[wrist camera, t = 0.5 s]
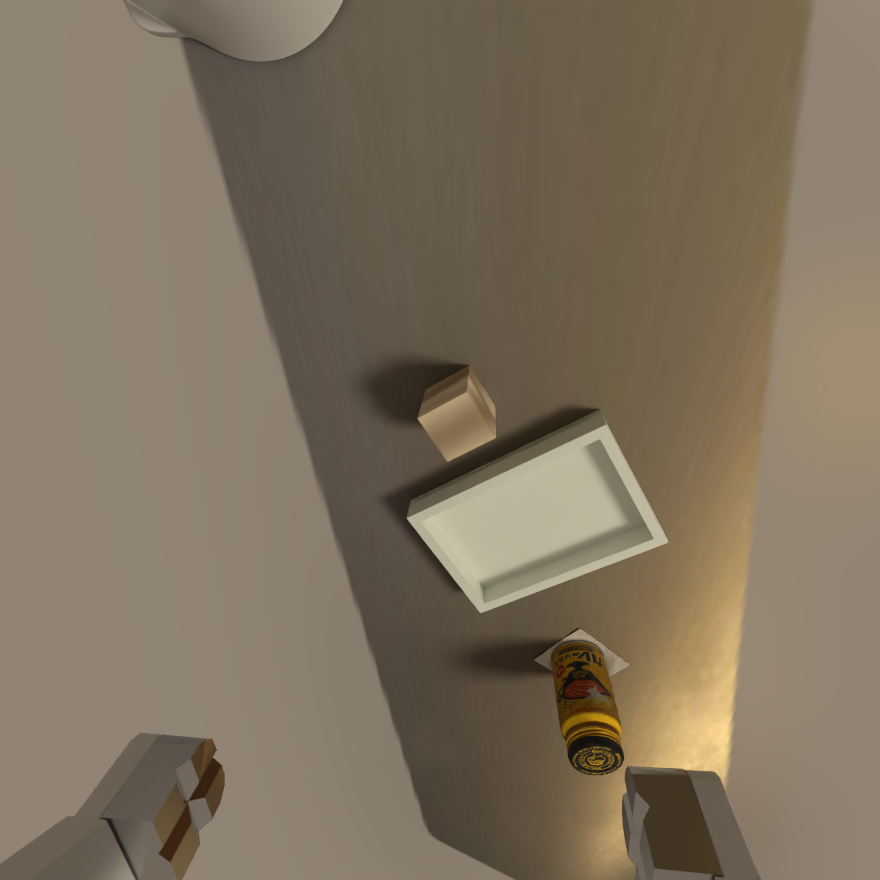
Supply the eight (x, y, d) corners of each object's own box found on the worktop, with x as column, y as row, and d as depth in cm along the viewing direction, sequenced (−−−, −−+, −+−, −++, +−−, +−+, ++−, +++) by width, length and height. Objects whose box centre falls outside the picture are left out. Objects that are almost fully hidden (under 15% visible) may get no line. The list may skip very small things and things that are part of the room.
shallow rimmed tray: (410, 500, 50) (406, 518, 48) (599, 409, 44) (606, 424, 41) (480, 592, 55) (480, 613, 53) (658, 522, 49) (668, 542, 46)
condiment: (579, 627, 57) (599, 731, 46) (629, 663, 59) (661, 771, 48) (533, 658, 60) (543, 762, 49) (583, 691, 62) (602, 798, 51)
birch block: (425, 389, 45) (417, 418, 39) (469, 364, 43) (466, 391, 38) (452, 428, 46) (447, 461, 41) (495, 406, 45) (496, 437, 39)
